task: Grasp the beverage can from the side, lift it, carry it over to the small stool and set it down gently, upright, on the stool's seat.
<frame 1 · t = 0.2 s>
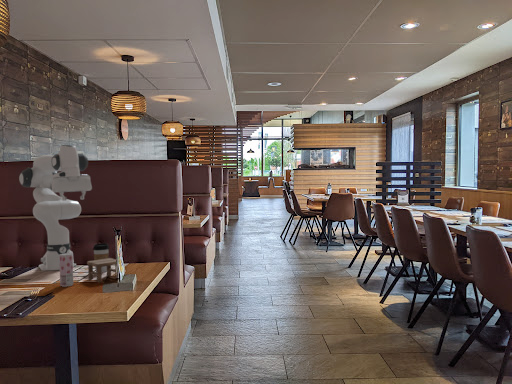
hand: (73, 199, 212), 40 cm above the table, tool pointing down, fingers open, 8 cm apart
coffee cup: (101, 271, 219), on the table
beverage can: (66, 285, 189), on the table
stool: (104, 278, 201), on the table
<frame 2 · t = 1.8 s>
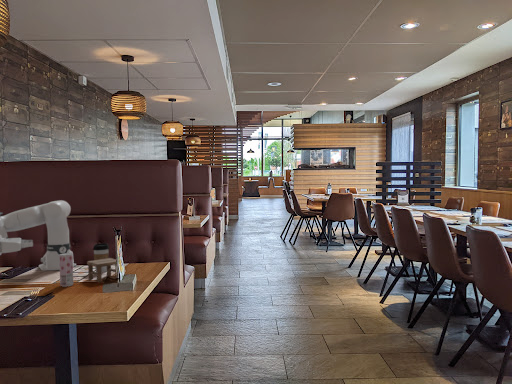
hand: (32, 243, 182), 21 cm above the table, tool horizontal, fingers open, 8 cm apart
nothing on the table moved.
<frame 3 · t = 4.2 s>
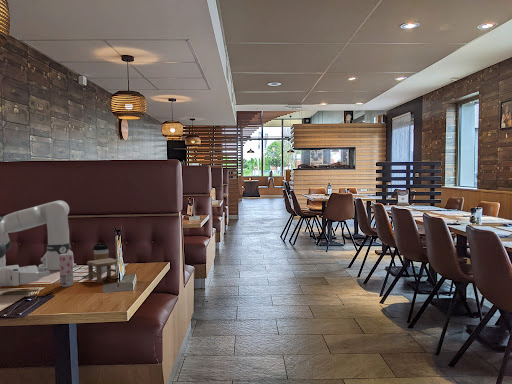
hand: (49, 271, 185), 8 cm above the table, tool horizontal, fingers open, 8 cm apart
nothing on the table moved.
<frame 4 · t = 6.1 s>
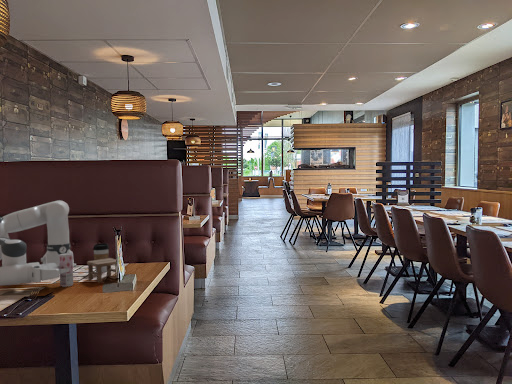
hand: (68, 268, 189), 8 cm above the table, tool horizontal, fingers closed on beverage can, 6 cm apart
beverage can: (66, 285, 189), on the table, touching gripper
everything else where it was.
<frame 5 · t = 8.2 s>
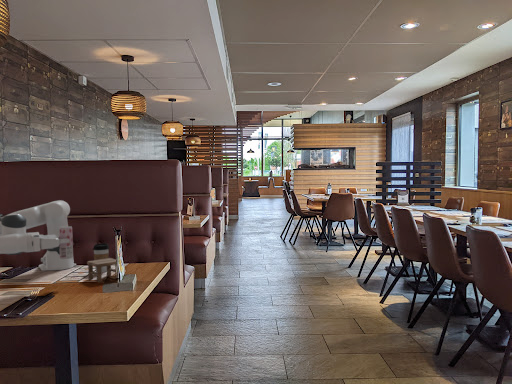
hand: (68, 239, 189), 22 cm above the table, tool horizontal, fingers closed on beverage can, 6 cm apart
beverage can: (66, 258, 189), point 13 cm above the table, touching gripper
everything else where it was.
when the fingers open (18 cm above the table, at t = 10.6 s): beverage can stays where it is, resting on stool.
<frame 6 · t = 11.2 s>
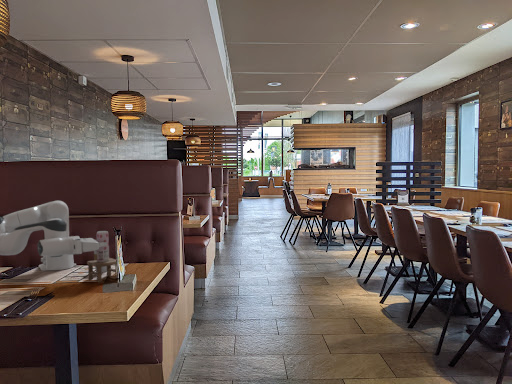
hand: (105, 242, 201), 18 cm above the table, tool horizontal, fingers open, 8 cm apart
beverage can: (103, 261, 201), point 9 cm above the table, touching stool
everything else where it was.
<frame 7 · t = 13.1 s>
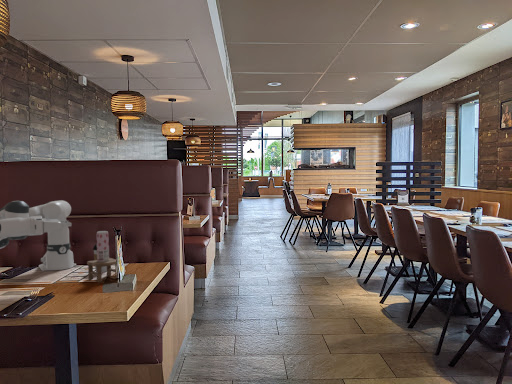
hand: (70, 223, 193), 29 cm above the table, tool horizontal, fingers open, 8 cm apart
nothing on the table moved.
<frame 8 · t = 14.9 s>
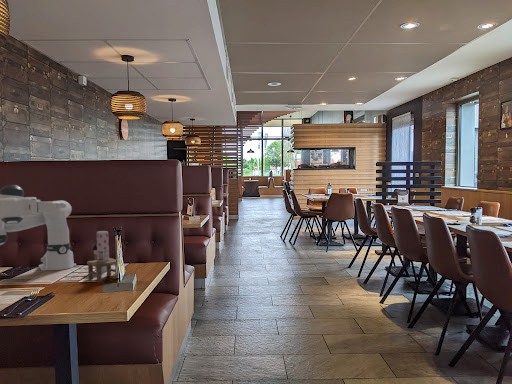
hand: (64, 205, 193), 38 cm above the table, tool horizontal, fingers open, 8 cm apart
nothing on the table moved.
at the end: beverage can inside the target area on the stool (0.4 cm from its centre), point 8.8 cm above the stool's base; beverage can tilted 0°; the gripper is holding nothing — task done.
